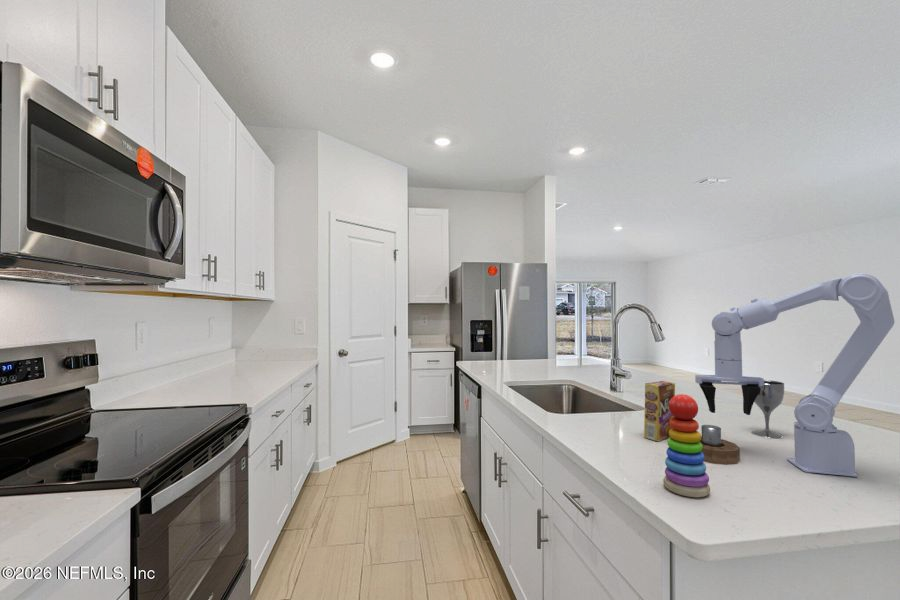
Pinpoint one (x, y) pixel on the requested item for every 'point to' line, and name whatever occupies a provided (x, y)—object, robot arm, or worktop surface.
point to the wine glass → (769, 404)
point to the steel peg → (711, 435)
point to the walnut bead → (721, 453)
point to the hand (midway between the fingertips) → (729, 413)
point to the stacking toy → (685, 451)
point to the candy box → (658, 410)
